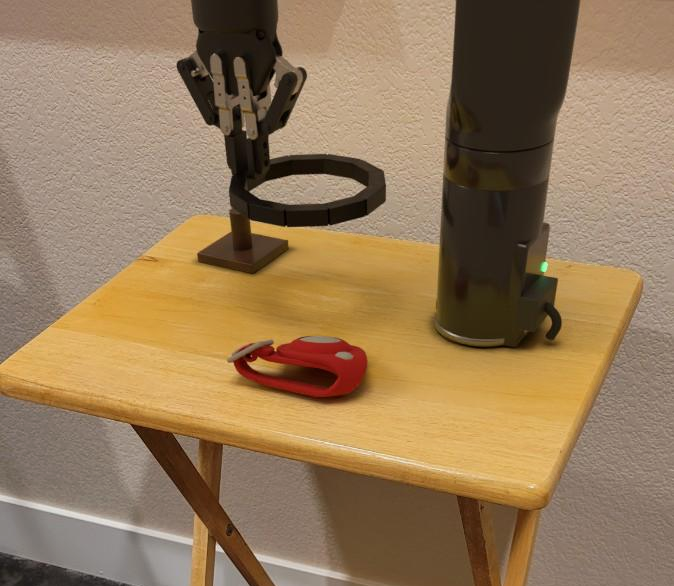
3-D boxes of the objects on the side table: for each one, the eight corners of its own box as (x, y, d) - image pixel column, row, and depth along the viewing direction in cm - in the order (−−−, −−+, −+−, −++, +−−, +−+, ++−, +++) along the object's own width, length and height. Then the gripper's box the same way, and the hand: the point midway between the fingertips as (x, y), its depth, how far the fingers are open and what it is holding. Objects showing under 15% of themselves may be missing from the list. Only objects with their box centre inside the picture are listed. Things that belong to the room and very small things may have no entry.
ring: (410, 182, 87) (411, 166, 86) (337, 238, 78) (337, 221, 77) (283, 161, 92) (282, 146, 91) (201, 210, 83) (198, 194, 82)
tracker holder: (333, 327, 85) (394, 344, 77) (332, 374, 87) (390, 394, 79) (218, 333, 79) (272, 351, 71) (219, 383, 81) (271, 406, 73)
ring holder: (288, 248, 102) (285, 204, 98) (253, 273, 97) (248, 227, 93) (235, 237, 104) (230, 193, 101) (197, 261, 100) (191, 216, 96)
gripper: (139, -37, 75) (171, 177, 87) (275, -27, 70) (289, 199, 82) (191, -51, 79) (214, 154, 92) (322, -43, 74) (328, 174, 87)
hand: (249, 175), depth 87 cm, fingers closed on ring, 1 cm apart
